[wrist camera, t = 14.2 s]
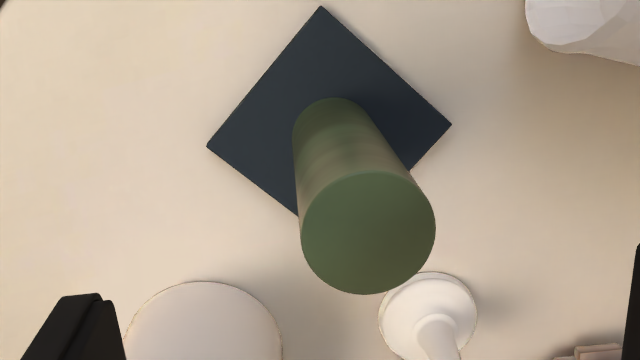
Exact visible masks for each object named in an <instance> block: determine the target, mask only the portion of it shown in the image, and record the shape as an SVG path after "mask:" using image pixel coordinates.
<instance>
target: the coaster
mask: <svg viewBox="0 0 640 360" xmlns="http://www.w3.org/2000/svg"><path fill="white" fill-rule="evenodd" d="M331 97H338V98H344V99H348V100H350V101H353V102H354V103H356V104H358V105H359V106H360V107H362V108H363V109H364V110H365V111H366V113H367V114H368V115H369V117H370V118H371V120H372V121H373V122H374V124H375V125H376V127H377V128H378V129H379V131H380V132H381V134H382V135H383V137H384V138H385V139H386V141H387V142H388V144H389V145H390V146H391V148H392V149H393V151H394V152H395V154H396V155H397V156H398V158H399V159H400V161H401V162H402V163H403V165H404V166H405V168H406V169H407V171H408V172H409V170H410V169H411V168H412V167H413V166H414V165H415V164H416V163H417V162H418V161H419V160H420V159H421V158H422V157H423V155H424V154H425V153H426V152H427V151H428V150H429V149H430V148H431V147H432V146H433V145H434V144H435V143H436V142H437V140H438V139H439V138H440V137H441V136H442V135H443V134H444V133H445V132H446V131H447V130H448V129H449V128H450V127H451V125H452V123H451V122H449V121H448V120H447V119H446V118H445V117H444V116H443V115H442V114H441V113H440V112H438V111H437V110H436V109H435V108H434V107H433V106H432V105H431V104H430V103H428V102H427V101H426V100H425V99H424V98H423V97H422V96H421V95H420V94H419V93H417V92H416V91H415V90H414V89H413V88H412V87H411V86H410V85H409V84H407V83H406V82H405V81H404V80H403V79H402V78H401V77H400V76H399V75H398V74H396V73H395V72H394V71H393V70H392V69H391V68H390V67H389V66H388V65H386V64H385V63H384V62H383V61H382V60H381V59H380V58H379V57H378V56H377V55H375V54H374V53H373V52H372V51H371V50H370V49H369V48H368V47H367V46H366V45H364V44H363V43H362V42H361V41H360V40H359V39H358V38H357V37H356V36H354V35H353V34H352V33H351V32H350V31H349V30H348V29H347V28H346V27H345V26H343V25H342V24H341V23H340V22H339V21H338V20H337V19H336V18H335V17H333V16H332V15H331V14H330V13H329V12H328V11H327V10H326V9H325V8H324V7H322V6H319V8H318V9H317V10H316V11H315V12H314V14H313V15H312V16H311V17H310V19H309V20H308V21H307V22H306V23H305V25H304V26H303V27H302V28H301V30H300V31H299V32H298V33H297V34H296V36H295V37H294V38H293V39H292V41H291V42H290V43H289V44H288V45H287V47H286V48H285V49H284V50H283V51H282V53H281V54H280V55H279V56H278V58H277V59H276V60H275V61H274V62H273V64H272V65H271V66H270V67H269V69H268V70H267V71H266V72H265V73H264V75H263V76H262V77H261V78H260V80H259V81H258V82H257V83H256V84H255V86H254V87H253V88H252V89H251V90H250V92H249V93H248V94H247V95H246V97H245V98H244V99H243V100H242V101H241V103H240V104H239V105H238V106H237V108H236V109H235V110H234V111H233V112H232V114H231V115H230V116H229V117H228V119H227V120H226V121H225V122H224V123H223V125H222V126H221V127H220V128H219V129H218V131H217V132H216V133H215V134H214V136H213V137H212V138H211V139H210V140H209V142H208V143H207V146H206V147H207V148H208V149H210V150H211V151H212V152H214V153H215V154H216V155H218V156H219V157H220V158H222V159H223V160H224V161H226V162H227V163H228V164H229V165H231V166H232V167H233V168H235V169H236V170H237V171H239V172H240V173H241V174H243V175H244V176H245V177H247V178H248V179H249V180H251V181H252V182H253V183H254V184H256V185H257V186H258V187H260V188H261V189H262V190H264V191H265V192H266V193H268V194H269V195H270V196H272V197H273V198H274V199H276V200H277V201H278V202H279V203H281V204H282V205H283V206H285V207H286V208H287V209H289V210H290V211H291V212H293V213H294V214H295V215H297V216H298V205H297V194H296V183H295V171H294V160H293V149H292V131H293V127H294V125H295V122H296V120H297V118H298V117H299V115H300V114H301V113H302V112H303V110H304V109H305V108H307V107H308V106H309V105H311V104H312V103H314V102H316V101H318V100H321V99H325V98H331ZM298 217H299V216H298Z"/></svg>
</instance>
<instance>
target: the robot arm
mask: <svg viewBox="0 0 640 360" xmlns="http://www.w3.org/2000/svg"><path fill="white" fill-rule="evenodd" d="M20 360H127V359H126V355H125V351H124V346H123V342H122V338H121V333H120V329H119V325H118V321H117V316H116V312H115V308H114V305H113V303H112V301H111V300H105V301H103V300H102V297H101V296H100V294H98V293H91V294H82V295H73V296H64V297H62V298H61V299H60V300H59V301H58V303H57V304H56V306H55V307H54V309H53V310H52V312H51V313H50V315H49V316H48V318H47V320H46V321H45V323H44V324H43V326H42V327H41V329H40V330H39V332H38V333H37V335H36V336H35V338H34V339H33V341H32V343H31V344H30V346H29V347H28V349H27V350H26V352H25V353H24V355H23V356H22V358H21V359H20ZM621 360H640V243H639V245H638V246H637V249H636V255H635V262H634V269H633V276H632V284H631V291H630V298H629V305H628V313H627V320H626V327H625V334H624V341H623V349H622V356H621Z"/></svg>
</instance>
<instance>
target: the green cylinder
mask: <svg viewBox="0 0 640 360" xmlns="http://www.w3.org/2000/svg"><path fill="white" fill-rule="evenodd" d="M292 149H293V160H294V171H295V183H296V194H297V205H298V216H299V227H300V238H301V245H302V250H303V253H304V257H305V259H306V261H307V263H308V265H309V266H310V268H311V269H312V271H313V272H314V273H315V274H316V275H317V276H318V277H319V278H320V279H321V280H323V281H324V282H325V283H327V284H328V285H330V286H332V287H334V288H336V289H338V290H341V291H344V292H347V293H352V294H361V295H368V294H377V293H382V292H385V291H389V290H391V289H394V288H396V287H398V286H400V285H402V284H403V283H405V282H406V281H408V280H409V279H411V278H412V277H413V276H414V275H415V274H416V273H417V272H418V271H419V270H420V269H421V268H422V266H423V265H424V263H425V262H426V260H427V259H428V257H429V255H430V253H431V250H432V247H433V244H434V240H435V232H436V225H435V217H434V213H433V210H432V207H431V205H430V203H429V201H428V199H427V197H426V196H425V195H424V193H423V192H422V190H421V189H420V187H419V186H418V185H417V183H416V182H415V180H414V179H413V178H412V176H411V175H410V173H409V172H408V171H407V169H406V168H405V166H404V165H403V163H402V162H401V161H400V159H399V158H398V156H397V155H396V154H395V152H394V151H393V149H392V148H391V146H390V145H389V144H388V142H387V141H386V139H385V138H384V137H383V135H382V134H381V132H380V131H379V129H378V128H377V127H376V125H375V124H374V122H373V121H372V120H371V118H370V117H369V115H368V114H367V113H366V111H365V110H364V109H363V108H362V107H360V106H359V105H358V104H356V103H354V102H353V101H350V100H348V99H344V98H338V97H331V98H325V99H321V100H318V101H316V102H314V103H312V104H311V105H309V106H308V107H307V108H305V109H304V110H303V112H302V113H301V114H300V115H299V117H298V118H297V120H296V122H295V125H294V127H293V131H292Z"/></svg>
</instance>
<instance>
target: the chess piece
mask: <svg viewBox="0 0 640 360" xmlns="http://www.w3.org/2000/svg"><path fill="white" fill-rule="evenodd" d="M476 322H477V311H476V307H475V304H474V301H473V298H472V295H471V293H470V291H469V290H468V289H467V287H466V286H465V285H464V284H463V283H462V282H461V281H459V280H458V279H456V278H454V277H452V276H450V275H447V274H444V273H438V272H425V273H419V274H415V275H414V276H413V277H412V278H411V279H409V280H408V281H406V282H405V283H403V284H402V285H400V286H398V287H396V288H394V289H391V290H390V291H389V292H388V293H387V294H386V296H385V297H384V299H383V301H382V303H381V305H380V308H379V313H378V325H379V330H380V332H381V335H382V337H383V338H384V340H385V342H386V344H387V345H388V347H389V348H390V349H391V350H392V351H393V352H394V353H395V354H397V355H398V356H400V357H401V358H403V359H406V360H461V358H460V355H459V351H460V350H461V349H462V348H463V347H464V346H465V345H466V344H467V342H468V341H469V340H470V338H471V336H472V335H473V332H474V330H475V327H476Z"/></svg>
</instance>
